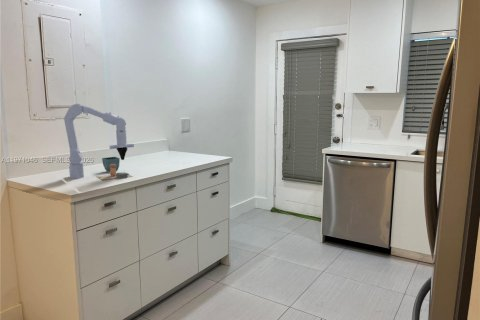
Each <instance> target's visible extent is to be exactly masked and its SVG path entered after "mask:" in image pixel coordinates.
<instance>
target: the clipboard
mask: <svg viewBox="0 0 480 320" xmlns="http://www.w3.org/2000/svg"><path fill="white" fill-rule="evenodd" d="M126 173H127V175H128V178H133V177H134V176H133V175H130V174H129V173H128V172H126ZM95 178H97V179H99V180H100V181H103V182H105V181H113V180H120V179H122V178H120V179H119V178H117V177H116V176H110V174H106V175H98V176H95Z"/></svg>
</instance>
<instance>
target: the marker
mask: <svg viewBox="0 0 480 320" xmlns="http://www.w3.org/2000/svg"><path fill="white" fill-rule="evenodd" d="M116 173H117V171H116V164H110V172H109V175H110V176H116Z"/></svg>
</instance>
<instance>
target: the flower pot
mask: <svg viewBox="0 0 480 320" xmlns="http://www.w3.org/2000/svg"><path fill="white" fill-rule="evenodd" d="M120 160H121V157H117V156H109V157H102V158H101V161H102V165H103V168H104V170H105V171H106V172H108V173H110V164H116V172H118V170H119V168H120V163H121V161H120Z"/></svg>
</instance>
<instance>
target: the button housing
mask: <svg viewBox="0 0 480 320" xmlns="http://www.w3.org/2000/svg"><path fill="white" fill-rule="evenodd" d="M123 172H124V174H119V173H120V172H118V173H117V172H116V177H117V178H119V179H118V180H120V178H121V179H127V178H129V177H128V175H127V173H128V172H125V171H123Z"/></svg>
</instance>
